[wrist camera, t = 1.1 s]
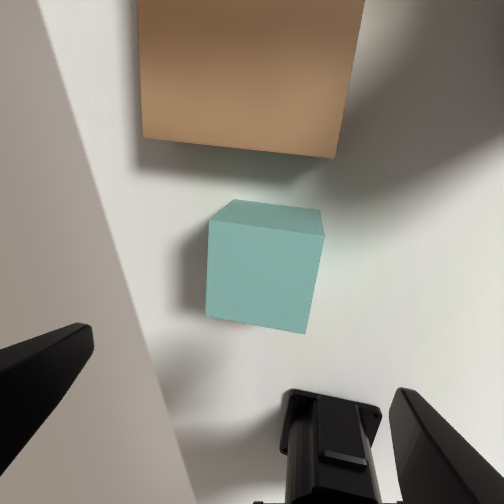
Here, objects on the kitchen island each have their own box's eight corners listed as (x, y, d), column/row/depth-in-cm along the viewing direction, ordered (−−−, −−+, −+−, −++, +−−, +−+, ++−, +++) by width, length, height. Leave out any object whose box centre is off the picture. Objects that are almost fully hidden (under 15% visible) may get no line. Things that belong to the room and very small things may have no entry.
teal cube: (305, 286, 19) (305, 334, 14) (229, 274, 19) (205, 315, 15) (319, 209, 17) (324, 236, 12) (234, 198, 17) (209, 219, 13)
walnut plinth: (329, 155, 16) (334, 158, 13) (169, 138, 17) (142, 138, 14) (371, -70, 12) (390, -132, 9) (167, -73, 13) (131, -128, 11)
